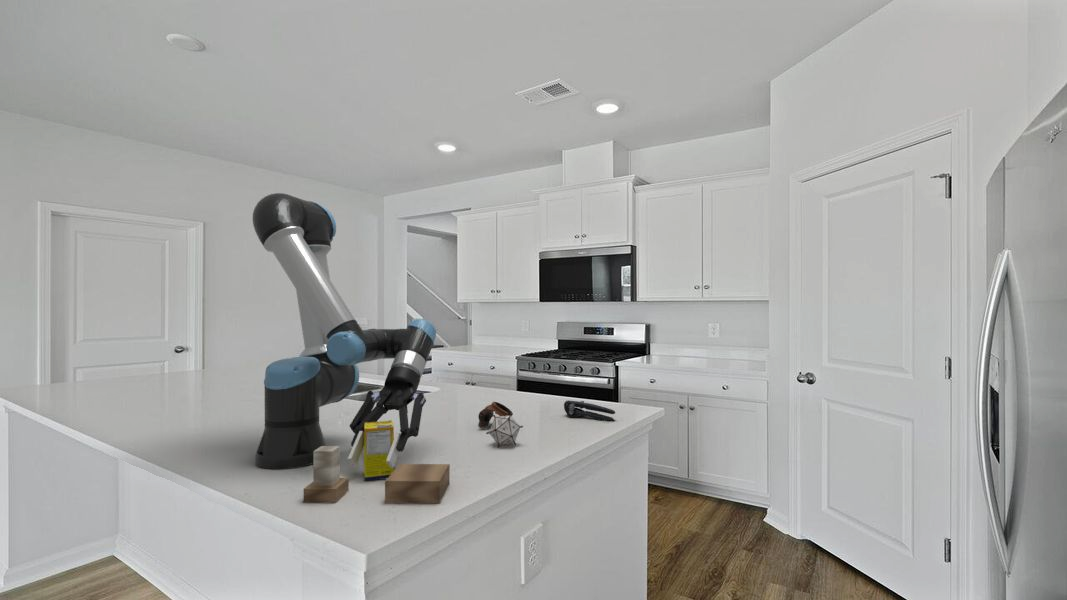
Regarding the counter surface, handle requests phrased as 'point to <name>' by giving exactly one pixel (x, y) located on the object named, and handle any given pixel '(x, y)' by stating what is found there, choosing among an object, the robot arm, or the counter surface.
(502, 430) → the game die
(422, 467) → the plinth
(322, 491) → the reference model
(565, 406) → the can opener
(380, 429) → the supplement box
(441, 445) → the counter surface
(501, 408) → the brown curved piece
